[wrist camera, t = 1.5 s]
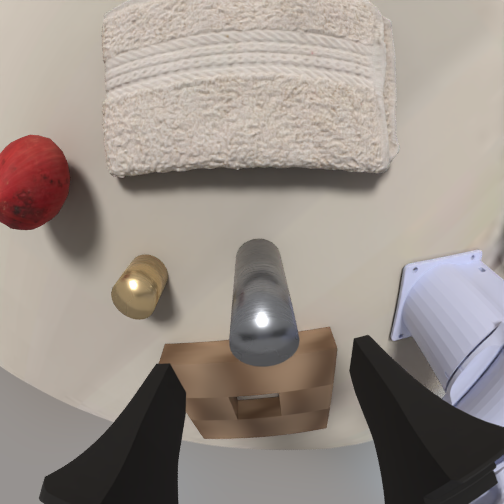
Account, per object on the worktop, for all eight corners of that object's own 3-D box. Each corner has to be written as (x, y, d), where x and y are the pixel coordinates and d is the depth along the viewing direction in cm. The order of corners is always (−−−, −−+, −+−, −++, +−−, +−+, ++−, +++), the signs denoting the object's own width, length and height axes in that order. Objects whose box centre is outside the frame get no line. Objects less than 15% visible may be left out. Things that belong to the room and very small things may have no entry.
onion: (105, 163, 15) (23, 195, 8) (69, 223, 17) (0, 275, 10) (57, 116, 13) (-26, 126, 6) (26, 177, 15) (-46, 210, 8)
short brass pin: (161, 252, 18) (145, 278, 15) (172, 288, 19) (160, 318, 16) (125, 257, 18) (104, 282, 15) (137, 291, 19) (121, 320, 16)
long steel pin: (278, 235, 18) (298, 313, 10) (282, 275, 19) (300, 362, 12) (232, 242, 18) (222, 322, 11) (239, 281, 19) (236, 369, 12)
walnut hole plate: (329, 326, 21) (337, 347, 19) (322, 410, 27) (326, 427, 25) (165, 344, 22) (158, 364, 20) (205, 421, 28) (204, 438, 25)
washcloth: (384, 170, 16) (407, 179, 13) (118, 179, 16) (96, 190, 13) (377, 13, 11) (396, -2, 8) (113, 22, 11) (92, 9, 8)
